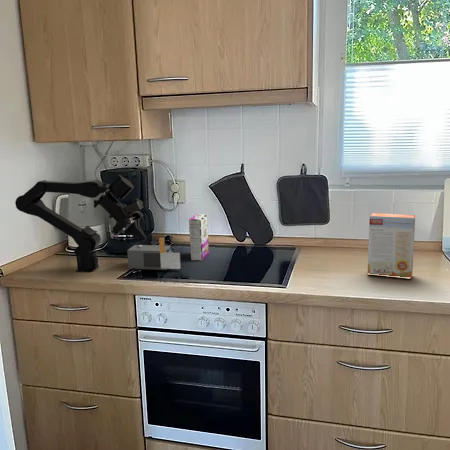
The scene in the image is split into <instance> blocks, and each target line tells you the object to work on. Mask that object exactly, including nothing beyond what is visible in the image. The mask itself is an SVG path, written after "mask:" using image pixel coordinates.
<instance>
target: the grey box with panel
mask: <svg viewBox="0 0 450 450" xmlns="http://www.w3.org/2000/svg"><path fill="white" fill-rule="evenodd" d="M126 251H127V264H128V265H127V267H128V268H129V270H163V271H165V270H167V269H161V259H160V246H159V244H158V245H157V244H155V245H150V244H134V245H132V246H131V247H130V248H128V249H126ZM165 252H167V253H174V252H173V249H171V245H165ZM133 268H135V269H133Z"/></svg>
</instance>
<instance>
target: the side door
mask: <svg viewBox="0 0 450 450" xmlns="http://www.w3.org/2000/svg"><path fill="white" fill-rule="evenodd" d="M158 240H159V241H158V245H159V246H160V259H161V269H166V270H180V269H181V253H180V252H173V253H167V252H165V246H166V243H165V242H166V241H165V237H159V238H158Z"/></svg>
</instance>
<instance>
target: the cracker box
mask: <svg viewBox="0 0 450 450" xmlns="http://www.w3.org/2000/svg"><path fill="white" fill-rule="evenodd" d="M415 226H416V215H415V214H401V213H399V214H398V213H380V212H379V213H376V212H375V213H373V212H372V213H371V214H370V215H369V225H368V249H367V274H368V273H370V274H379V275H389V276H400V277H412V278H413V270H414V268H413V267H414V253H415V251H414V250H415V249H414V248H415V234H416V233H415V231H416V227H415Z"/></svg>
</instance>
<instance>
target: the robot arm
mask: <svg viewBox="0 0 450 450" xmlns="http://www.w3.org/2000/svg"><path fill="white" fill-rule="evenodd" d="M133 189H134V184H132V182H131V181H130V180H129V179H127V178H125V177H124V176H122V175H121V174H119V175H117V176H116V177H115V179H114V180H113V181H112V182H111V183H104V182H103V181H102V180H99V179H93V180H91V179H90V180H85V181H79V182H76V181H55V180H53V181H52V180H45V179H44V180H43V179H42V180H39V181H37V182H36V183H35V184H34V185H33V186H32V187H31V188H30V189H29V190H27V191H26V192H24V194H22V195H19V196H17V197H16V198H15V201H14V203H15V208H16V209H17V210H18V211H20V212H22V213H24V214H27V215H31V216H34V217H38V218H40V219H41V220H42V221H44V222H46V223H48V224H49V225H51V226H52V227H54V228H56V229H57V230H59V231H60V232H62V233H64V234H66V235H67V236H69V237H70V238H72V239H73V241H74V243H76V245H77V247H76V248H75V249H74V250H73V251H74V254H75V257H76V267H77V268H76V269H75V272H86V273H87V272H94V271H96V270H97V269H99V267H100V266H99V259H98V258H99V257H98V256H97V252H96V250H97V247H98V246H100V244H101V242H102V241H101V240H102V238H101V235H100V234H99V233H98V230H95V229H94V228H92V227H91V226H89V225H86V226H85V227H80V226H78V225H77V224H75V223H73V222H72V221H71V220H69V219H67V218H66V217H64V216H62V215H60V214H59V213H57V212H56V211H54V210H53V209H51V208H50V207H48V206H46V204H45V203H44V201H43V200H42V198H43V197H44V196H45V194H46V193H56V194H57V193H58V194H76V195H80V196H82V197H87V198H91V199H93V198H97V197H99V196H100V197H99V198H97V199H94V200H93V208H95V209H96V208H99V207H101V208H102V209H103V210H104V211H105V212H106V213H107V214H108V218H109V219H112V218H113V220H114V221H115V222H116V224H114V226H112V233H114V234H115V235H116V236H118V235H119V234H120V233H121V232H122V231H123V229H124V231H123V232H122V234H126V235H130V236H132V237H135V238H137V239H139V240H142V241H145V240H147V236H146V234H145V233H144V230H143V229H142V227H141V225H140V221H141V218H142V217H143V216H144V214H143V213H142V211H141V210H142V209H144V208H145V207H144V202H143V201H142V200H141V199H138V198H135V199H133V200H132V202H131V203H130V204H128V205H127V204H126V203H121V202H120V201H119V199H122V200H123V199H125V197H127V195H128V194H130V192H131V191H132V190H133ZM106 192H107V193H106ZM105 193H106V194H105Z"/></svg>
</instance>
